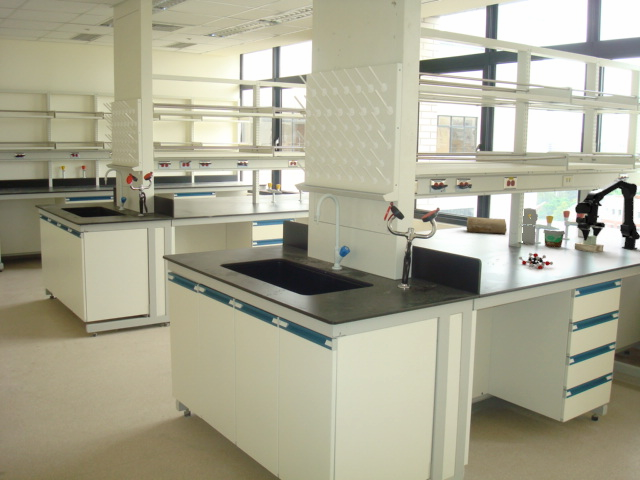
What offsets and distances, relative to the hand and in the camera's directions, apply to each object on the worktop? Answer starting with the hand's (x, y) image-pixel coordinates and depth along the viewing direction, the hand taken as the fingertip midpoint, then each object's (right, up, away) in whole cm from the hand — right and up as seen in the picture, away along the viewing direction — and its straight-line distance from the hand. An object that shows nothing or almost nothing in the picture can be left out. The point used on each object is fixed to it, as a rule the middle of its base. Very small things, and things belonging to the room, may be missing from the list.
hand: (589, 239), depth 359 cm
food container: (-19, -4, +9) cm, 21 cm away
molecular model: (-49, -14, -51) cm, 72 cm away
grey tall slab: (-31, -2, +19) cm, 36 cm away
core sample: (-45, +5, +62) cm, 76 cm away
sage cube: (0, -2, 0) cm, 3 cm away
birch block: (0, -6, +1) cm, 6 cm away
